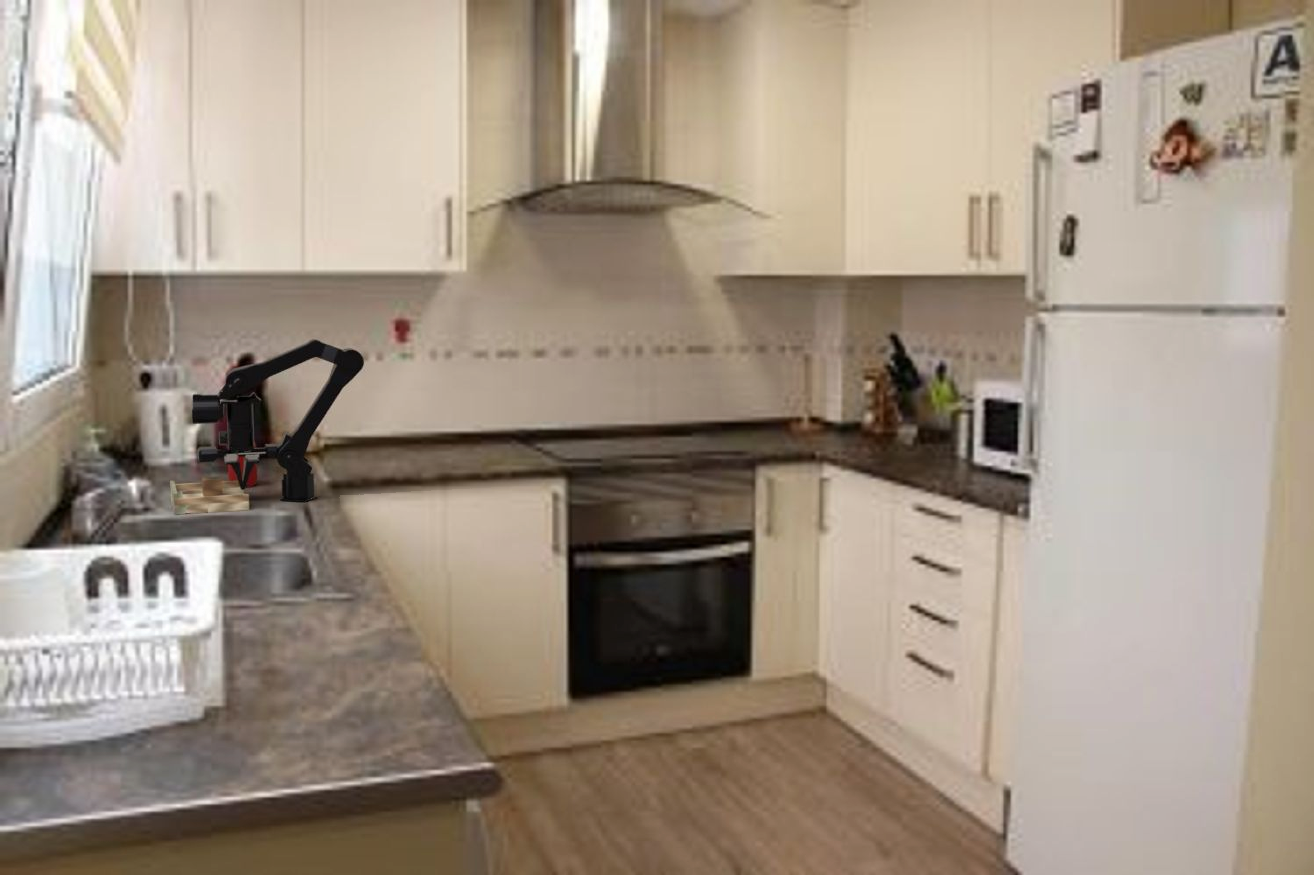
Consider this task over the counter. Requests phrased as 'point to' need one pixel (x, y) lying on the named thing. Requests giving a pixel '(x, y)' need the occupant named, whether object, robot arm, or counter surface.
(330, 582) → the counter surface
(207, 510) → the trap track
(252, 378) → the robot arm
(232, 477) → the beverage can
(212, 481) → the walnut block
